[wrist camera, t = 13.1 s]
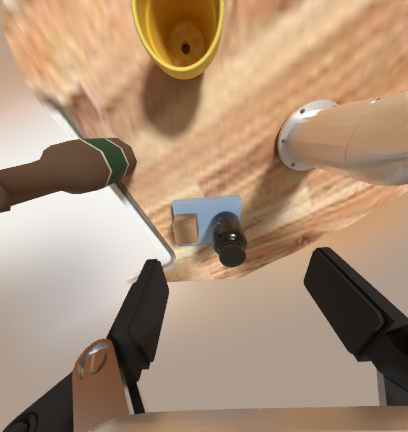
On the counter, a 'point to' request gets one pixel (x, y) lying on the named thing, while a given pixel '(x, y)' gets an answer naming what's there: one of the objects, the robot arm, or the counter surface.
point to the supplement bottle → (229, 239)
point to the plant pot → (180, 33)
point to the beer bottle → (67, 170)
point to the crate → (186, 228)
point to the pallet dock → (207, 212)
